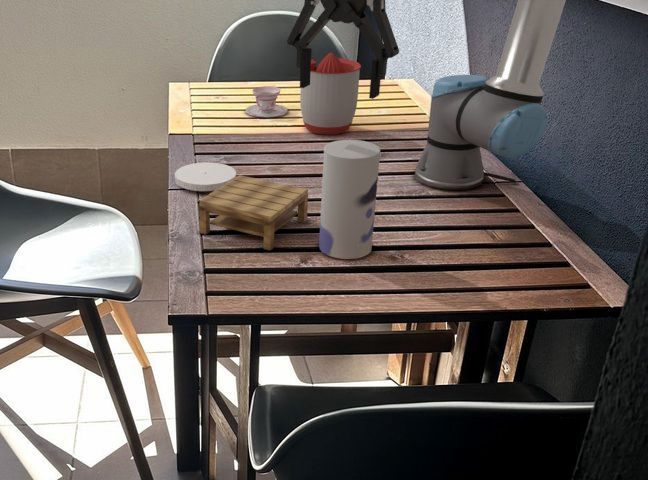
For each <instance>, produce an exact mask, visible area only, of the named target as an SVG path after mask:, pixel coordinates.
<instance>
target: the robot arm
mask: <svg viewBox="0 0 648 480" xmlns="http://www.w3.org/2000/svg"><path fill="white" fill-rule="evenodd" d="M566 1H567V0H517V3H516V6H515V10H514V13H513V16H512V20H511V22H510V25H509V30H508V32H507V36H506V39H505V43H504V47H503V50H502V53H501V56H500V59H499V63H498V66H497V70H496V74H495V75H493V76H492V77H491V78H489V77H488V76H485V75H481V74H456V75H454V74H453V75H447V76H443V77H440V78H438V79H437V80H436V81H435V82H434V85H433V88H432V95H431V97H430V109H429V116H428V117H429V118H428V129H427V138H426V143H425V145H424V146H425V147H424V148H423V151H422V153H421V155H420V157H419V159H418V161H417V163H416V166H415V170H414V177H415V179H416V180H417V182H419V183H421V184H422V185H425V186H428V187H431V188H434V189H439V190H445V191H465V190H470V189H474V188H477V187H479V186H481V185H483V182H484V178H485V177H489V178H494V179H498V180H502V181H507V182H510V183H513V184H515V183H516V182H517V181H516V180H517V179H515V178H511V177H508V176H503V175H499V174H496V173H495V174H494V173H491V172H485V169H484V164H483V158H482V154H481V153H482V152H481V149H484V150H486V151H488V152H490V153H491V154H493V155H495V156H501V157H503V158H507V159H516V158H520V157H522V156H524V155H526V154H527V153H529V152H530V151H531V150H533V149H534V148H535V147H536V146H537V144H538V143H539V142H540V141H541V139H542V138H543V136H544V134H545V132H546V129H547V126H548V120H549V119H548V116H547V111H546V109H545V108H544V106H543V105H541V104H542V100H543V97H544V95H545V93H544V91H543V89H542V87H541V84H540V81H541V79H542V76H543V73H544V69H545V66H546V64H547V60H548V57H549V54H550V51H551V48H552V45H553V41H554V39H555V35H556V32H557V28H558V26H559V23H560V21H561V17H562V14H563V11H564V7H565V4H566ZM320 3H321V5H322V7H323V11H322V12H321V13H320V14H319V15H318V17H317V19H316V20H315V21H314V22H313V23H312V25H311V26H310V27H309V29H308V30H307V31H306V32H305V30H306V27H307V25H308V23H309V21H310V19H311V17H312V15H313V14H314V11H315V9H316V7H317V6H318V5H319V4H320ZM368 7H369V9H370V11H371V12H372V14H373V18H374V21H375V24H376V27H377V30H378V33H379V34H378V33H377V31H376V30H375V28H374V27H373V25H372V23H371V22H370V18H369V17H368V15H367V12H366V11H365V10H367V8H368ZM330 21H331V22H332V23H339V22H342V23H343V24H353V25H354V27H356V28H357V29H358V30H359V32H360V33H361V35H362V37H363V39H364V40H365V42H366V43H367V45H368V46H369V48H370V49H371V51H372V52H373V54H374V56H375V58H373V59H372V60H371V70H370V82H369V83H370V84H369V94H368V95H369V97H368V99H372V100H373V99H375V98H377V97H379V96H380V90H381V80H382V79H384V78H386V76H387V68H388V60H389V59H391V58H394V57H395V56H397V55H399V53H400V48H399V46H398V43H397V39H396V36H395V33H394V30H393V29H392V26H391V25H392V24H391V21H390V19H389V17H388V14H387V10H386V0H304V3H303V6H302V9H301V10H300V13H299V15H298V17H297V19H296V21H295V23H294V25H293V28H292V29H291V31H290V34H289V36H288V38H287V39H286V43H287V45H288V46H291V47H292V46H293V47H294V48H295V49H296V61H295V63H296V68H299V89H301V88H305V87H307V86H309V85H310V75H311V59H312V51H313V48H311V47H309V46H310V44H311V43H312V41H314V40H315V38H316V37H317V36H318V35H319V33H320V32H321V31H322V30H323V29H324V28H325V26H326V25H327V24H328V23H329V22H330ZM304 32H305V33H304ZM302 35H303V36H302ZM380 37H381V38H380Z"/></svg>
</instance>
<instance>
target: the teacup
mask: <svg viewBox="0 0 648 480" xmlns="http://www.w3.org/2000/svg"><path fill="white" fill-rule="evenodd" d="M252 94H253V95H254V96H255V102H256V104H252V105H250V106H248V107H246V108H245V113H246V114H248V115H249V116H252V117H257V118H275V117H282V116H285V115H286V114H287V113H288V108H287V107H286V106H283V105H280V104H277V103H276V101H277V99H278V96H279V95H280V94H281V88H280V87H277V86H274V85H273V86H272V85H265V86H258V87H255V88H253V89H252Z"/></svg>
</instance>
